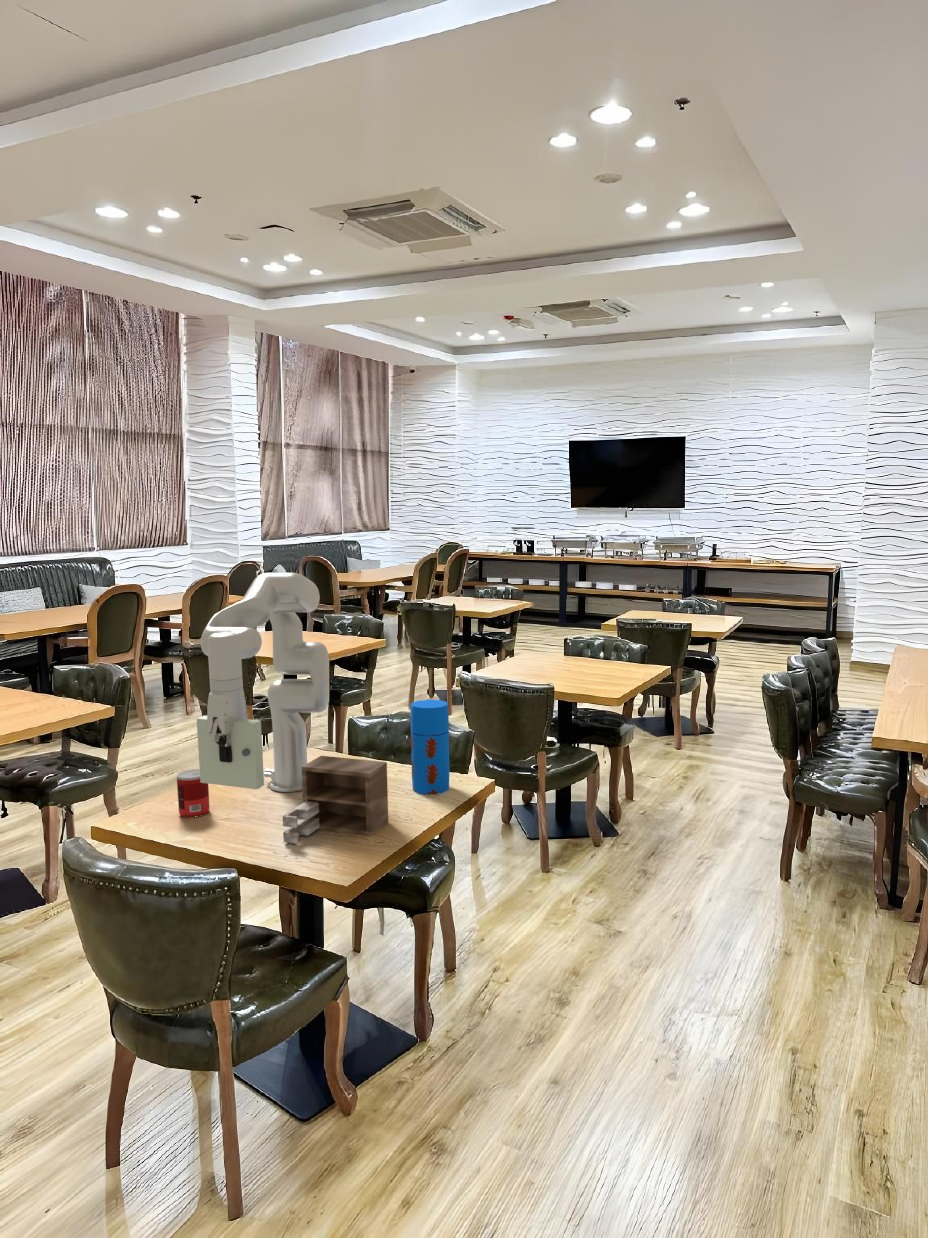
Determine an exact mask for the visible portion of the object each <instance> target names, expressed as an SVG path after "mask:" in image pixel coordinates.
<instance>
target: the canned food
mask: <svg viewBox="0 0 928 1238" xmlns="http://www.w3.org/2000/svg"><path fill="white" fill-rule="evenodd" d="M176 786H177V788H176V789H177V801H178V802H177V805H178V813H179V816H180V815H181V816H180V817H182V816H185V817H195V816H200V815H203V816H205V815H207V814H208V813H209V812H210V795H209V793H210V791H209V790H210V789H209V784H208V783H201V782H200V768H197V769H193V768H192V769H188V770H184V771H180V772H179V773H177V775H176ZM185 817H184V818H185ZM200 817H201V816H200ZM195 818H196V817H195Z"/></svg>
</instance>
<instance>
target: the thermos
mask: <svg viewBox="0 0 928 1238" xmlns="http://www.w3.org/2000/svg"><path fill="white" fill-rule="evenodd" d="M449 711H450V710H449V704H448V702H447V701H446V700H440V699H421V700H417V701H412V703H411V704H410V746H411V747H410V749H411V751H410V753H411V779H412V780H411V781H412V791H413V792H414V793H417V794H421V795H426V794H429V796H431V795H430V794H433V795H438V794H443V793H446V792H447V791H449V789H450V732H449V731H450V730H449V729H450V728H449V727H450V724H449V723H450V722H449V720H450V719H449V715H450V714H449Z"/></svg>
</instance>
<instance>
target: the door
mask: <svg viewBox="0 0 928 1238" xmlns="http://www.w3.org/2000/svg"><path fill="white" fill-rule="evenodd" d="M196 731H197V746H198V747H197V748H198V762H199V764H198V765H199V769H200V782H201V783H208V785H218V786H227V787H233V788H234V787H236V788H241V789H243V788H244V789H251V790H259V789H260V788H262V787H264V786H265V777H264V773H265V772H264V756H263V737H262V735H263V734H262V720H257V719H249V718H247V719H239V720H236V721H234V722H233V731H232V732H231V733H230V745H229V746H231V748H232V762H230V763H228V762H221V761H220V758H219V746H217V743H216V742H215V741H213V740H211V739H210V737H211V734H210V733H208V728H207V715H202V716H200V717H197V718H196ZM222 737H223V738H224V739H225V736H222Z"/></svg>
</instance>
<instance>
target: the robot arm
mask: <svg viewBox="0 0 928 1238" xmlns="http://www.w3.org/2000/svg"><path fill="white" fill-rule="evenodd" d="M320 597H321V596H320V590H319V588H318V587H317V585H316V583H314V582H313V581H312V580H310V579H309V578H308V577H306V576H304V575H303V574H300V573H297V572H264V573H261V574H259V575H257V576H256V577H255V578H254V580H253V581H252V583H251V584H250V586H249V587H248V589H247V591H246V592H245V594H244V596H243V597H242V598H241V600H240V601H237V602H235V603H234V604H231V605H229V606H227V607H226V608H223V609H221V610H220V611H218V612H216V613H215V614H214V615H213V616H212V617H211V618H210V619H209V621H208V623H207V625H206V626H205V627H204V629H203V631H202V634H201V638H200V647H201V651H202V652H203V654H204V655H205V656H207V657H208V658H207V659H208V673H209V690H210V692H209V693H208V698H207V709H206V710H207V713H206V716H207V728H208V733H210V734H211V737H210V739H211V740H213V741H215V742H216V743H217V746H219V758H220V761H221V762H228V763H230V762H232V748H231V746H229V745H230V733H231V732H232V731H233V722H234V721H236V720H239V719H248V715H247V714H248V711H247V704H246V703H247V702H246V697H245V691H244V683H243V663H242V662H243V661H242V660H245V659H251V658H253V657H255V656H256V655H258V653H259V652H260V650H261V648H262V644H263V643H262V641H263V640H262V635H261V634H260V632H259V631H258V630H257V629H255V628H257V627H260V626H263V625H265V624H266V623H268V621H270V624H271V629H272V664H273V668H274V671H275V672H276V673H278V674H280V675H291V676H292V675H293V676H294V675H297V676H299V675H301V676H303V675H304V676H310V678H311V679H304V678H303V679H301V678H285V679H284V678H282V679H278V680H275V681H273V682H272V683H270V684H269V687H268V689H267V701H268V706H269V709H270V714H271V725H272V743H273V744H272V745H273V747H272V748H273V766H274V767H273V769H272V768H265V769H264V772H263V773H264V778H271V781H270V782H269V788H270V789H271V790H273V791H275V792H281V793H292V792H293V793H294V792H299V791H303V790H302V766H304V765H305V764H307V763H308V750H307V749H308V748H307V746H308V745H307V744H308V743H307V726H306V723H305V720H304V719H303V718H302V716H301V715H300V714H299V713H303V714H304V713H307V714H308V713H309V714H310V713H312V714H313V713H314V714H315V713H322V712H324V711H326V710H327V708H328V706H329V703H330V657H329V651H328V649H327V646H326V645H325V644H324V643H321V642H319V641H304V637H303V623H302V621H301V619H300V617H299V615H297V613H311V612H314V611H316V609H317V608H318V606H319V605H320V599H321V598H320ZM222 736H225V739H224V738H223V737H222Z"/></svg>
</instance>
